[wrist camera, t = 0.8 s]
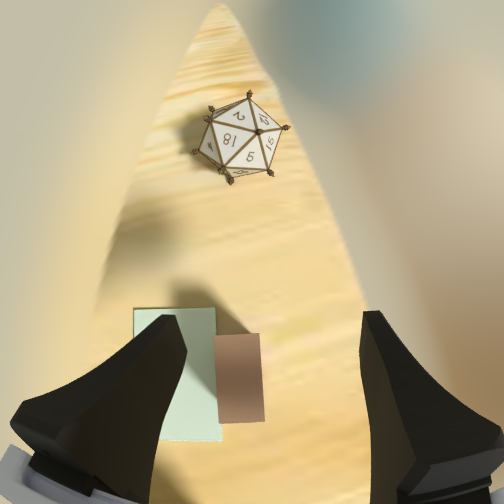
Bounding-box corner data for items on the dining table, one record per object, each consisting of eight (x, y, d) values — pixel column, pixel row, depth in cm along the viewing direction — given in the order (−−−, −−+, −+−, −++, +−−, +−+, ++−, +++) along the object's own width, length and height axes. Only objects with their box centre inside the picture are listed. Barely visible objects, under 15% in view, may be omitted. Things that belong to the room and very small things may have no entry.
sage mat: (223, 440, 24) (222, 441, 24) (140, 437, 24) (139, 438, 24) (215, 307, 28) (215, 307, 28) (135, 310, 28) (134, 309, 28)
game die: (227, 188, 36) (157, 158, 29) (250, 121, 36) (189, 80, 28) (291, 203, 31) (222, 167, 23) (316, 125, 31) (258, 70, 23)
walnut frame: (261, 406, 26) (265, 421, 19) (226, 408, 26) (218, 423, 19) (257, 339, 28) (259, 333, 21) (222, 341, 27) (213, 335, 21)
